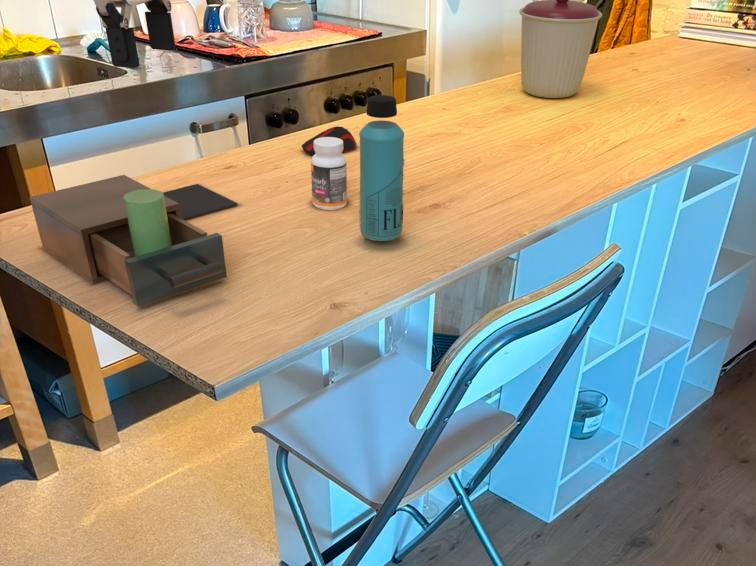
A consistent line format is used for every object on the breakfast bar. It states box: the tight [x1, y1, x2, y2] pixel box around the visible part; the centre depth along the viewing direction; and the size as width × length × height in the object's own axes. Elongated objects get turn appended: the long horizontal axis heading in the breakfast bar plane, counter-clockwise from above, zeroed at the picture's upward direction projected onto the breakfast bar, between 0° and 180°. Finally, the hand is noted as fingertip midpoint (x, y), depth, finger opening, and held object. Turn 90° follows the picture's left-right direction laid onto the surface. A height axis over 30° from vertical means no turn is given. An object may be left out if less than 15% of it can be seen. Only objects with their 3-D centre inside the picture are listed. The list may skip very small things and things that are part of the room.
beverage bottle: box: [358, 94, 406, 242], centre depth 115 cm, size 6×7×20 cm
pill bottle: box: [310, 137, 348, 211], centre depth 130 cm, size 6×6×10 cm
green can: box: [124, 188, 172, 257], centre depth 106 cm, size 5×5×10 cm
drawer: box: [88, 212, 228, 307], centre depth 107 cm, size 19×13×6 cm
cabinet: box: [29, 174, 182, 285], centre depth 115 cm, size 16×15×8 cm
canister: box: [518, 0, 603, 99], centre depth 183 cm, size 18×18×21 cm
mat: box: [162, 183, 238, 221], centre depth 132 cm, size 12×12×1 cm
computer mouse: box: [300, 126, 357, 157], centre depth 153 cm, size 6×11×4 cm, turn 133°
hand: (145, 57), depth 98 cm, fingers open, 9 cm apart
